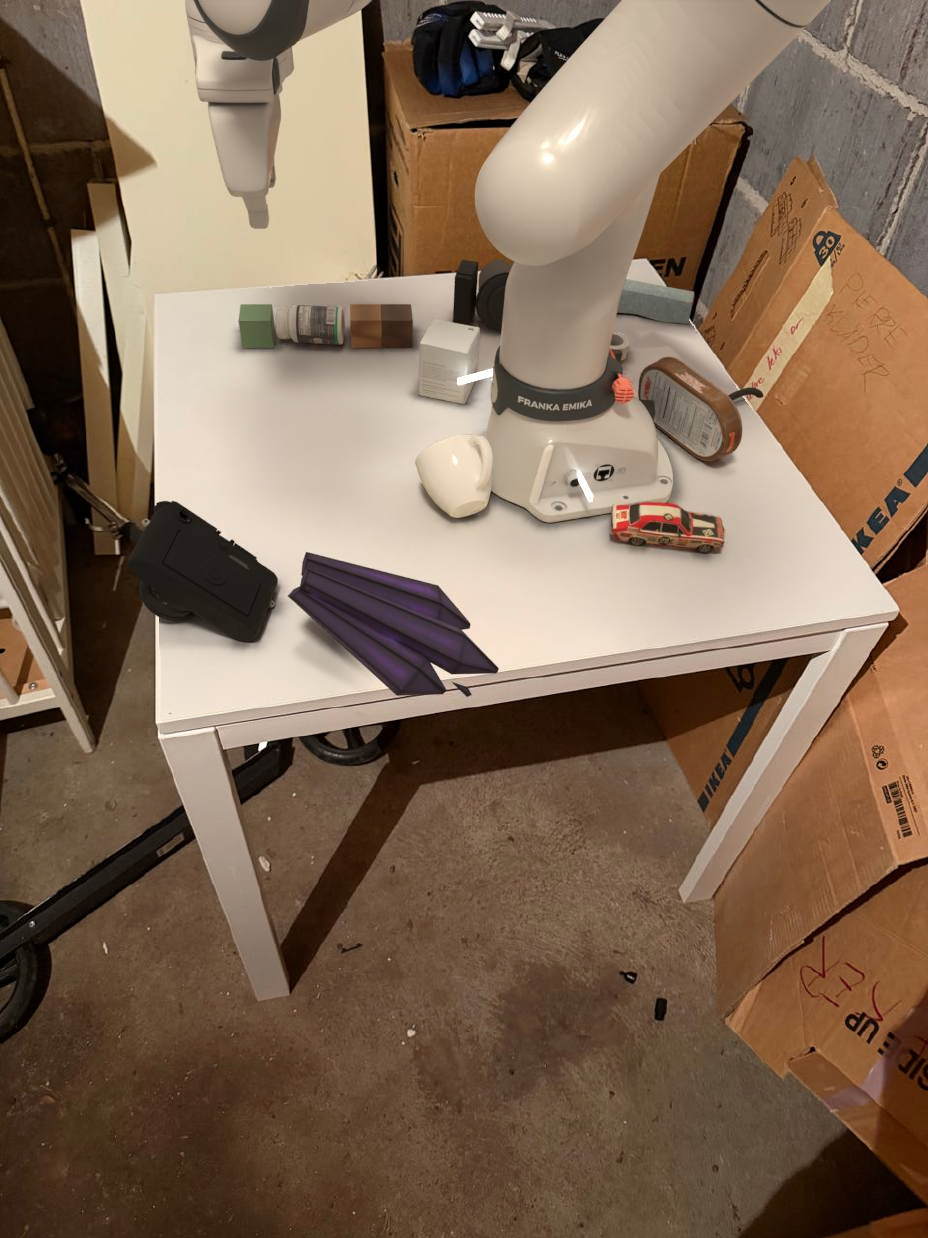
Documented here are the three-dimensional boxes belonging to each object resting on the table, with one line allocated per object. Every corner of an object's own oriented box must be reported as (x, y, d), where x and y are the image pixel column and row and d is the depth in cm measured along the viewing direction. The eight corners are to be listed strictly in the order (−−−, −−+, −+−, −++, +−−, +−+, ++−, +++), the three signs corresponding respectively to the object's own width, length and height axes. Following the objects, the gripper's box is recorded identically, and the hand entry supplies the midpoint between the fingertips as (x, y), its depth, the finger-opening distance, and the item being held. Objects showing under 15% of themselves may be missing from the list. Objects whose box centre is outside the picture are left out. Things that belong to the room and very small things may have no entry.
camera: (230, 664, 85) (255, 603, 90) (270, 635, 81) (294, 573, 86) (95, 584, 79) (130, 523, 84) (131, 548, 74) (165, 486, 80)
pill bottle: (345, 340, 118) (282, 337, 118) (344, 303, 116) (280, 299, 115) (341, 348, 114) (275, 345, 114) (340, 310, 111) (273, 306, 111)
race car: (611, 523, 98) (612, 491, 95) (723, 529, 95) (728, 496, 92) (607, 554, 95) (608, 522, 91) (723, 560, 92) (728, 528, 89)
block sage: (275, 331, 117) (272, 303, 114) (273, 348, 115) (270, 320, 112) (244, 331, 117) (240, 303, 114) (242, 348, 114) (238, 320, 111)
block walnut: (411, 331, 119) (411, 303, 116) (412, 347, 116) (412, 319, 113) (381, 331, 119) (380, 303, 116) (382, 347, 116) (381, 320, 113)
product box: (432, 369, 113) (433, 317, 108) (477, 378, 112) (481, 326, 107) (417, 395, 109) (418, 343, 104) (464, 405, 109) (468, 352, 103)
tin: (732, 468, 103) (754, 408, 97) (713, 477, 102) (734, 416, 95) (646, 402, 111) (661, 342, 105) (627, 409, 110) (641, 349, 103)
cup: (479, 522, 98) (460, 468, 100) (529, 480, 91) (509, 421, 92) (421, 527, 94) (402, 470, 95) (469, 483, 86) (448, 422, 87)
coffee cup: (537, 269, 124) (549, 295, 116) (504, 318, 128) (513, 346, 120) (489, 237, 120) (499, 262, 113) (457, 288, 124) (464, 316, 117)
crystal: (311, 544, 84) (496, 637, 87) (258, 644, 78) (457, 740, 81) (327, 508, 78) (525, 609, 81) (270, 614, 72) (485, 719, 75)
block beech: (381, 331, 119) (380, 303, 116) (382, 347, 116) (381, 320, 113) (351, 331, 118) (349, 303, 115) (351, 347, 116) (350, 320, 113)
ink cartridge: (459, 312, 122) (462, 256, 116) (475, 315, 122) (478, 259, 116) (451, 331, 119) (453, 274, 113) (467, 333, 119) (471, 277, 113)
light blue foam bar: (539, 257, 126) (537, 270, 129) (529, 300, 125) (528, 312, 128) (696, 286, 125) (691, 299, 128) (688, 330, 124) (683, 341, 127)
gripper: (220, 14, 86) (242, 163, 97) (192, 87, 73) (221, 250, 83) (285, 15, 87) (300, 163, 97) (270, 87, 73) (289, 250, 84)
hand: (264, 204), depth 90 cm, fingers open, 8 cm apart
